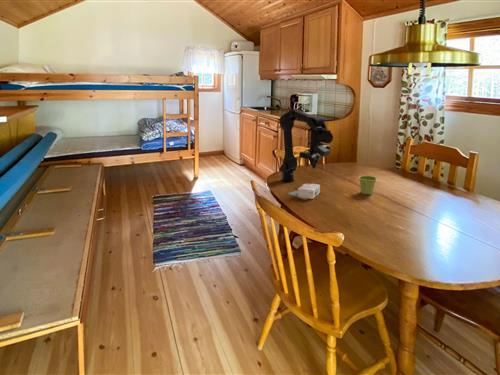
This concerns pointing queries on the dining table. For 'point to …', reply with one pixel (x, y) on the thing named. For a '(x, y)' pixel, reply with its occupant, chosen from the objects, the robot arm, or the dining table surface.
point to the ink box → (308, 190)
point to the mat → (297, 194)
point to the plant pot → (367, 184)
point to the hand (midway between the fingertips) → (313, 168)
